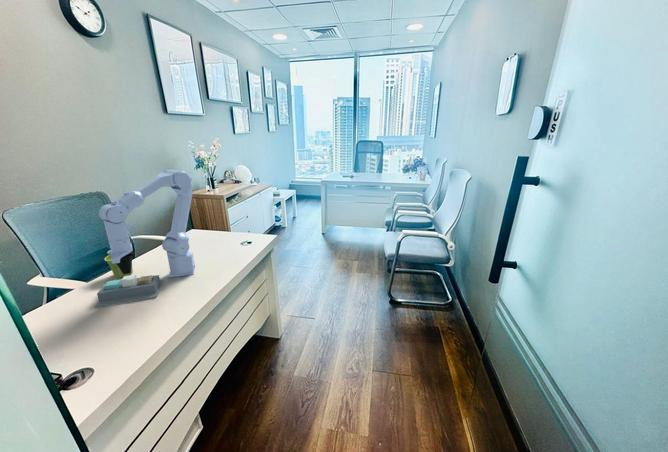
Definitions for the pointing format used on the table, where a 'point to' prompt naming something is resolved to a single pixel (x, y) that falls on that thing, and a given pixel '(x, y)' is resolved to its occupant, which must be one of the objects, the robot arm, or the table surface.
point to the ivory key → (129, 281)
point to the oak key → (145, 280)
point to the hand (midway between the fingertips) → (127, 273)
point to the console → (129, 293)
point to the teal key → (113, 284)
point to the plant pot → (115, 268)
